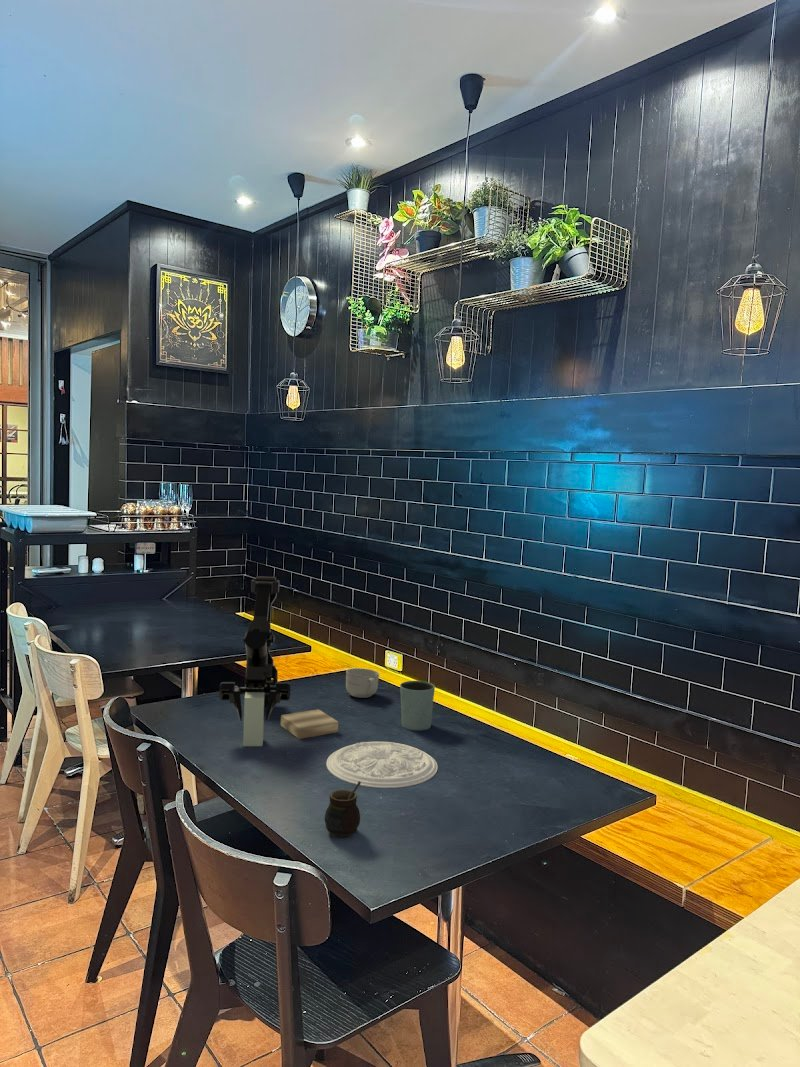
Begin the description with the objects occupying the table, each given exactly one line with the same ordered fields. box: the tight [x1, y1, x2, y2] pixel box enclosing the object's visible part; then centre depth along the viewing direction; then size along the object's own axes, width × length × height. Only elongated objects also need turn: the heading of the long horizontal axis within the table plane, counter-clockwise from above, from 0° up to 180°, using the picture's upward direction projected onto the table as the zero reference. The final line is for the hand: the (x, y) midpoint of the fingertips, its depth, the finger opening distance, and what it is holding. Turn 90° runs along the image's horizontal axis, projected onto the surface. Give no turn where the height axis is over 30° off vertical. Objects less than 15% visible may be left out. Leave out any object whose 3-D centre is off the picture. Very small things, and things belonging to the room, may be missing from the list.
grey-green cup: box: [399, 680, 436, 732], centre depth 221 cm, size 10×10×12 cm
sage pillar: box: [242, 692, 265, 747], centre depth 201 cm, size 5×5×13 cm
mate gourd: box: [324, 781, 361, 838], centre depth 155 cm, size 7×8×10 cm
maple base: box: [280, 708, 339, 740], centre depth 214 cm, size 12×12×3 cm
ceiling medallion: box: [326, 741, 439, 789], centre depth 191 cm, size 28×28×3 cm
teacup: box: [345, 667, 380, 699], centre depth 246 cm, size 14×11×8 cm
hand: (253, 720), depth 200 cm, fingers open, 6 cm apart
